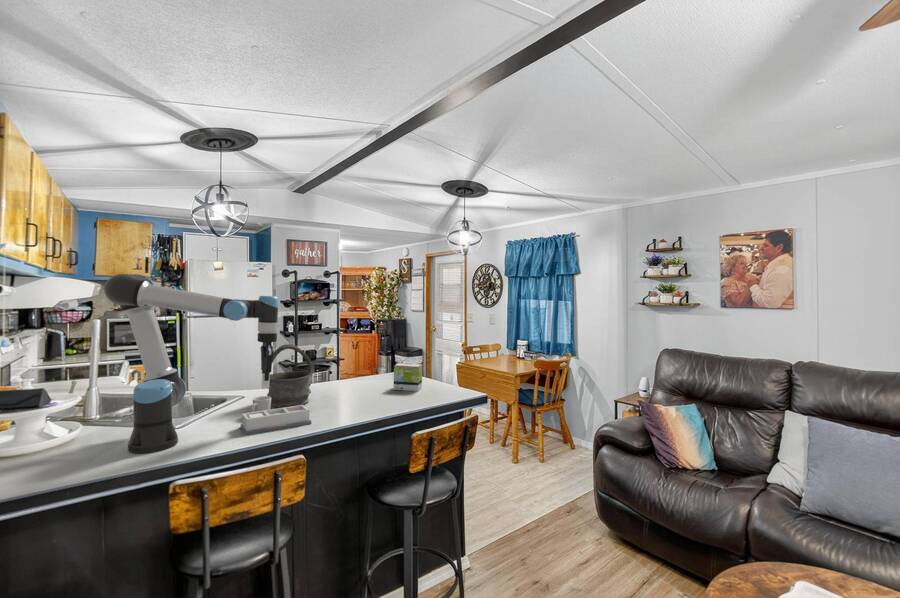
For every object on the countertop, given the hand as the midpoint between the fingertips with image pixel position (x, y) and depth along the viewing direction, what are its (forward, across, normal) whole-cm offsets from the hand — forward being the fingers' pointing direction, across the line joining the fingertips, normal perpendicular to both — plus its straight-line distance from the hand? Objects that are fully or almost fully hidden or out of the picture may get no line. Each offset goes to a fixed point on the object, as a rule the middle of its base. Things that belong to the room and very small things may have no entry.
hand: (265, 388), depth 180 cm
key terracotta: (+13, -2, -12) cm, 18 cm away
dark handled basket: (+16, +32, -18) cm, 41 cm away
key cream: (+13, -2, +4) cm, 13 cm away
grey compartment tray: (+16, -2, -5) cm, 17 cm away
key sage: (+14, -2, -4) cm, 15 cm away
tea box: (+14, +26, -84) cm, 90 cm away
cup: (+17, +16, -2) cm, 23 cm away
